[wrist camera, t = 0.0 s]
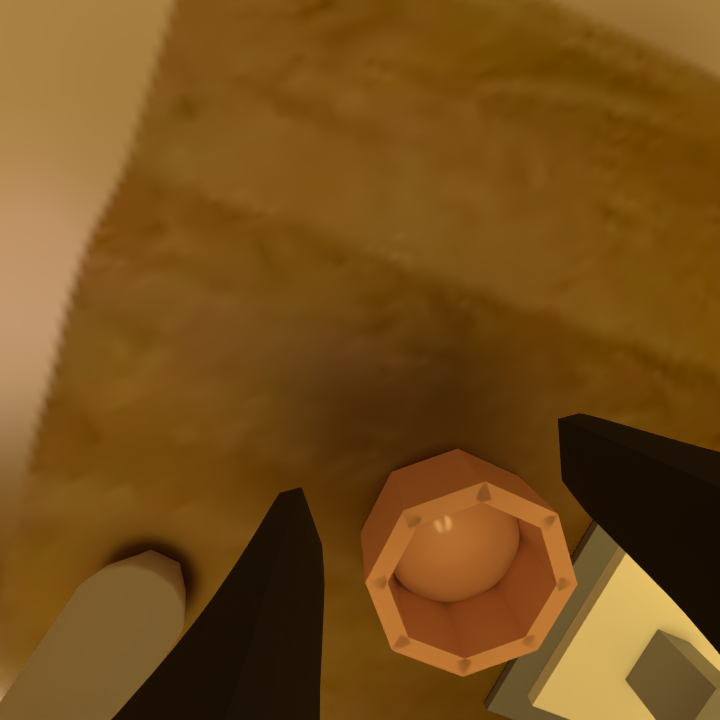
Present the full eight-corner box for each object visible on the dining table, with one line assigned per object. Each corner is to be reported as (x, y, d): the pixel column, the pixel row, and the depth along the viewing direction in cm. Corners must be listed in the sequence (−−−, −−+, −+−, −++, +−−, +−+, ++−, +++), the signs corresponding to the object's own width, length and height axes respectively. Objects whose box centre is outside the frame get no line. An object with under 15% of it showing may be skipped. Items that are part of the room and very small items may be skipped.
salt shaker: (190, 529, 21) (-57, 899, 8) (210, 615, 21) (16, 1074, 9) (89, 545, 20) (-340, 952, 8) (112, 631, 21) (-236, 1126, 8)
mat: (675, 773, 25) (681, 780, 25) (484, 703, 23) (486, 709, 23) (802, 589, 24) (810, 594, 23) (606, 498, 22) (611, 502, 21)
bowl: (481, 627, 23) (510, 695, 19) (339, 571, 21) (339, 631, 18) (558, 493, 22) (607, 535, 18) (413, 427, 20) (431, 456, 16)
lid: (673, 750, 24) (739, 838, 20) (527, 695, 23) (567, 777, 19) (770, 608, 23) (861, 672, 19) (621, 541, 22) (685, 595, 18)
